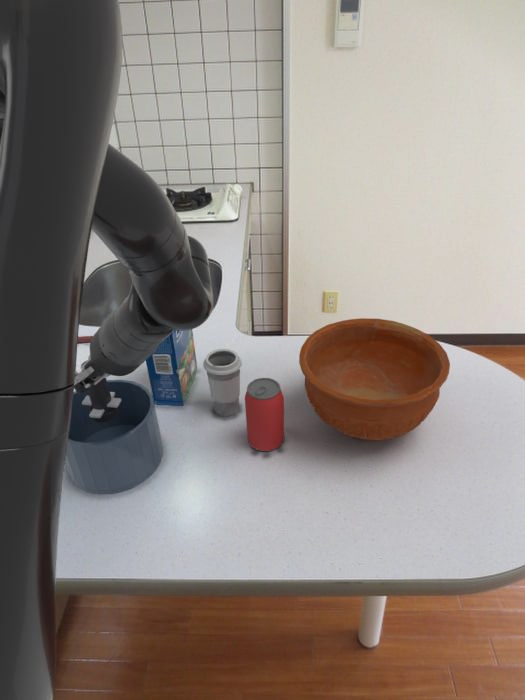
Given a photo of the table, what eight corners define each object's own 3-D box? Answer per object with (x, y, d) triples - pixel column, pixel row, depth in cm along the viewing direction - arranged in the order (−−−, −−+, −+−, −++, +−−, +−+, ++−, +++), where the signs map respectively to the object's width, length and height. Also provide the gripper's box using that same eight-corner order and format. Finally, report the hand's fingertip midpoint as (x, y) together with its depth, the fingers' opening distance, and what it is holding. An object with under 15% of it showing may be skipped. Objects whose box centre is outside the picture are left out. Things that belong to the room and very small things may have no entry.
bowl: (458, 411, 98) (473, 345, 90) (394, 495, 83) (405, 424, 74) (345, 365, 112) (349, 304, 103) (272, 430, 96) (269, 363, 88)
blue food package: (198, 369, 112) (184, 262, 98) (184, 406, 103) (166, 293, 89) (170, 368, 113) (152, 261, 99) (153, 404, 103) (130, 292, 89)
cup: (202, 413, 101) (195, 363, 94) (219, 393, 105) (214, 344, 99) (234, 424, 98) (230, 372, 91) (251, 402, 103) (247, 352, 96)
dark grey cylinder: (114, 427, 83) (101, 377, 78) (79, 424, 84) (64, 374, 79) (129, 403, 88) (117, 354, 82) (95, 400, 89) (82, 352, 83)
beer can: (240, 443, 94) (235, 390, 87) (262, 422, 98) (260, 371, 91) (269, 458, 90) (267, 405, 83) (291, 436, 94) (291, 384, 88)
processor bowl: (119, 508, 83) (104, 459, 76) (48, 472, 90) (30, 424, 83) (181, 443, 94) (173, 396, 88) (114, 415, 101) (102, 370, 95)
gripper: (147, 295, 75) (107, 341, 88) (66, 342, 66) (35, 386, 79) (179, 337, 76) (135, 377, 89) (104, 389, 66) (67, 425, 79)
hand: (88, 381), depth 84 cm, fingers closed on dark grey cylinder, 3 cm apart
